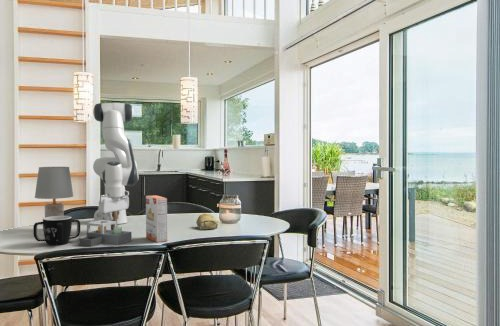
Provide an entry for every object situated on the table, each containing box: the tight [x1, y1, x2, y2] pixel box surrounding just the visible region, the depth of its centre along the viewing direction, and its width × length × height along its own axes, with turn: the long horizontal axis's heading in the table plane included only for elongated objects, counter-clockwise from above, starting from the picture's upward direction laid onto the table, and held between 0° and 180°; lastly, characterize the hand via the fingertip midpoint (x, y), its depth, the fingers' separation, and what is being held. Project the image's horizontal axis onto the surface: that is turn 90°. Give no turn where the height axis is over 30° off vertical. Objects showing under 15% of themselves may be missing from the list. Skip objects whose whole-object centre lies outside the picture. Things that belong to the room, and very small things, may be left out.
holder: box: [78, 236, 103, 247], centre depth 195 cm, size 7×7×3 cm
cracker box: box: [145, 195, 168, 244], centre depth 206 cm, size 14×6×21 cm, turn 33°
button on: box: [114, 226, 123, 234], centre depth 202 cm, size 4×4×4 cm
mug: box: [33, 215, 81, 246], centre depth 196 cm, size 16×16×12 cm
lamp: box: [34, 166, 74, 218], centre depth 230 cm, size 19×19×34 cm
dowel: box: [110, 211, 117, 230], centre depth 221 cm, size 3×3×16 cm
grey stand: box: [86, 220, 133, 245], centre depth 204 cm, size 18×10×8 cm, turn 67°
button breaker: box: [97, 226, 107, 233], centre depth 205 cm, size 4×4×4 cm
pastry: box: [196, 213, 219, 231], centre depth 239 cm, size 14×12×8 cm
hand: (114, 219), depth 221 cm, fingers closed on dowel, 3 cm apart
